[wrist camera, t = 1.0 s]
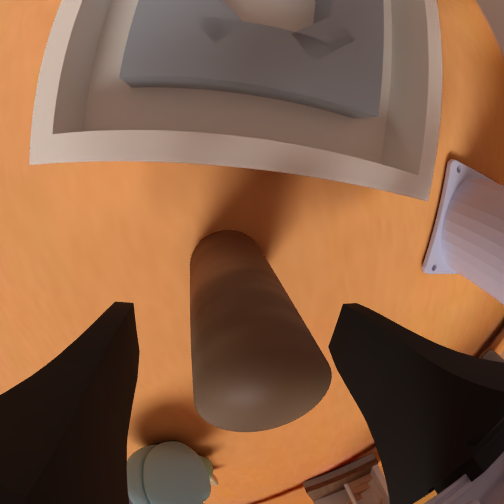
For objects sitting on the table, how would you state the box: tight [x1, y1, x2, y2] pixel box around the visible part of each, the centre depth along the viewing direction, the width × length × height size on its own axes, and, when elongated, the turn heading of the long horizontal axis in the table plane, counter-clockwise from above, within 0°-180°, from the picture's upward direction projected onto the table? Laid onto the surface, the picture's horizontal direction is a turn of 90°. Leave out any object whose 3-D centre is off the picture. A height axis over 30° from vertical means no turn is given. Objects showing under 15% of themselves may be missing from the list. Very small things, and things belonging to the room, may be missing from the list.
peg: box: [190, 230, 332, 432], centre depth 10 cm, size 4×4×8 cm
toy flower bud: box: [127, 441, 218, 504], centre depth 16 cm, size 7×9×12 cm
